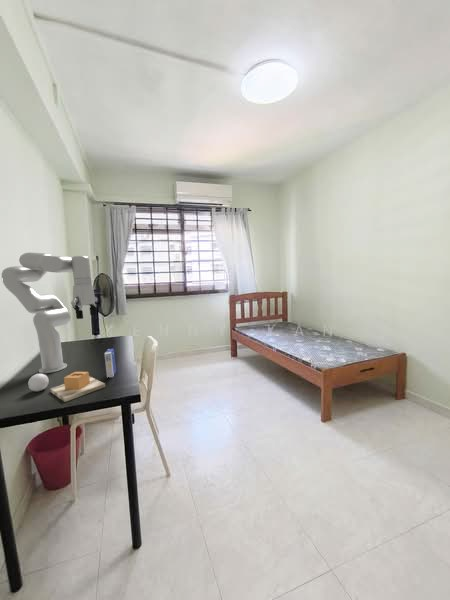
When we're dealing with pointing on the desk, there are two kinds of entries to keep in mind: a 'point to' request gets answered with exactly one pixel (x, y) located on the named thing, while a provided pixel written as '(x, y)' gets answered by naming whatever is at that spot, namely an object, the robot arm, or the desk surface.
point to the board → (72, 393)
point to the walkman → (110, 363)
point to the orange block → (76, 380)
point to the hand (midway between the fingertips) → (86, 316)
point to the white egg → (38, 382)
